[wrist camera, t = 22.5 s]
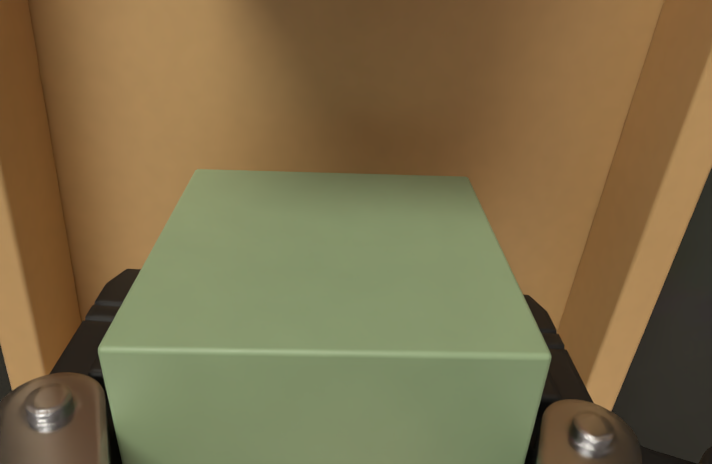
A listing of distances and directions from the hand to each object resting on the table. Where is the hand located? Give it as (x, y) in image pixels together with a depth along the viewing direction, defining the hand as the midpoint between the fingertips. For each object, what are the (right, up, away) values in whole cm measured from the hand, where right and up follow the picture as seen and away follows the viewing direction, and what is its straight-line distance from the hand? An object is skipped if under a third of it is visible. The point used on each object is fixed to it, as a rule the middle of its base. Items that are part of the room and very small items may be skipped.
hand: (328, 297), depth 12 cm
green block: (0, 0, 0) cm, 0 cm away
